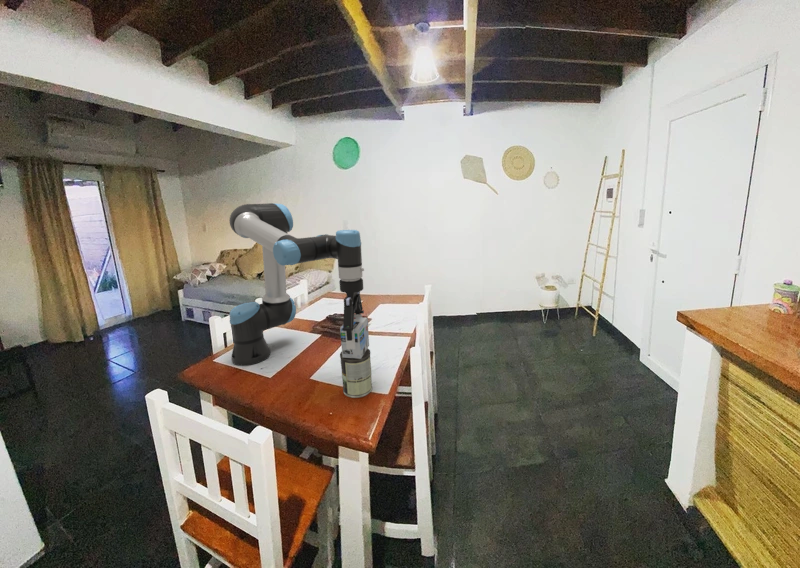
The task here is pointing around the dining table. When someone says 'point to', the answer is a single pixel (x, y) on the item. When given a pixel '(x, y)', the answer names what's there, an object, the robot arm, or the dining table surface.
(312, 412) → the dining table surface
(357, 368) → the coffee can
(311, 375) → the dining table surface
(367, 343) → the light bulb box
